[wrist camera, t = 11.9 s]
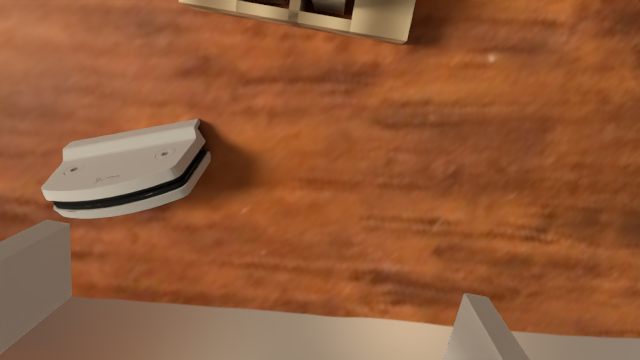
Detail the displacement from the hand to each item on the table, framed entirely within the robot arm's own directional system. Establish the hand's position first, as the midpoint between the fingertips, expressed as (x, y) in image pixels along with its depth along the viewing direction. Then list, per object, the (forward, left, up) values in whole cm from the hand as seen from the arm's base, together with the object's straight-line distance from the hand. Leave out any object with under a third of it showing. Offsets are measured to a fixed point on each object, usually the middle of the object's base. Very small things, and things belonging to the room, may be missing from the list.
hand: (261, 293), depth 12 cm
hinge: (+20, +6, -31) cm, 37 cm away
